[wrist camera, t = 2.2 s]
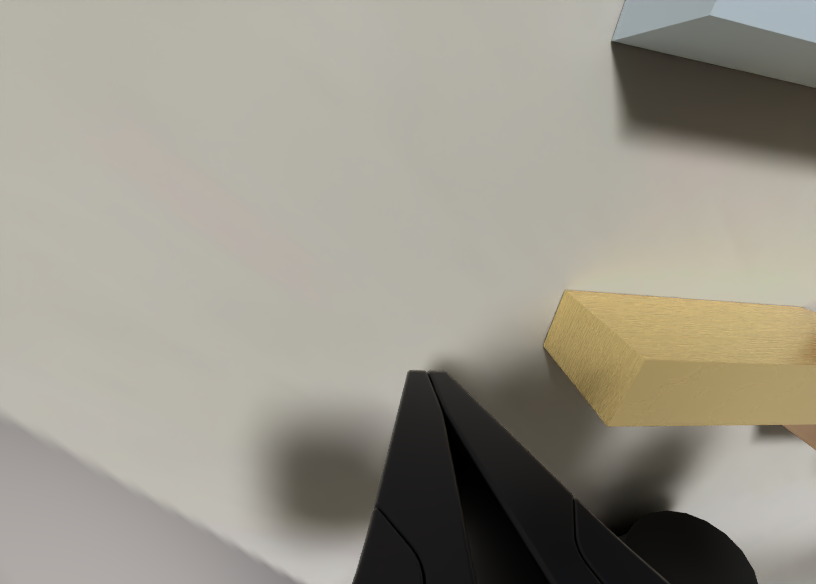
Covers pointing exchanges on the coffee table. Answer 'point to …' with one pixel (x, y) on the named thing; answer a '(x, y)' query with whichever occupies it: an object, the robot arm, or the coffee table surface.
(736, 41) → the light blue rectangular frame
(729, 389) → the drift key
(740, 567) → the hammer
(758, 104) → the coffee table surface
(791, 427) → the socket block
